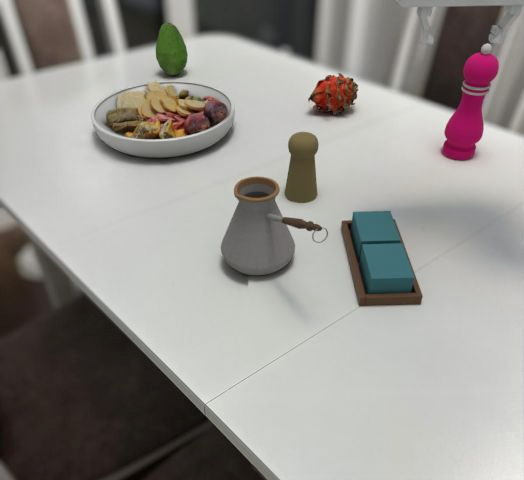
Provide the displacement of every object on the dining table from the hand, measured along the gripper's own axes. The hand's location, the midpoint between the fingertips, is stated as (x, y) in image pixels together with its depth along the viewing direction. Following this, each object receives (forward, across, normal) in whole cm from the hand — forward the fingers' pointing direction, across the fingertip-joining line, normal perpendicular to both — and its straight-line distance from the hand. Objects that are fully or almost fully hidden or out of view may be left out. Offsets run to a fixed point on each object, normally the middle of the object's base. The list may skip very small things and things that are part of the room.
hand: (460, 42), depth 72 cm
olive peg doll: (+27, +20, -8) cm, 35 cm away
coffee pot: (+27, +26, +16) cm, 41 cm away
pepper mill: (+27, -13, -22) cm, 37 cm away
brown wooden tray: (+27, +10, +14) cm, 32 cm away
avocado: (+27, +48, -68) cm, 88 cm away
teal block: (+26, +10, +18) cm, 34 cm away
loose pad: (+26, +10, +10) cm, 30 cm away
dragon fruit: (+27, +10, -43) cm, 52 cm away
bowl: (+27, +47, -35) cm, 65 cm away
